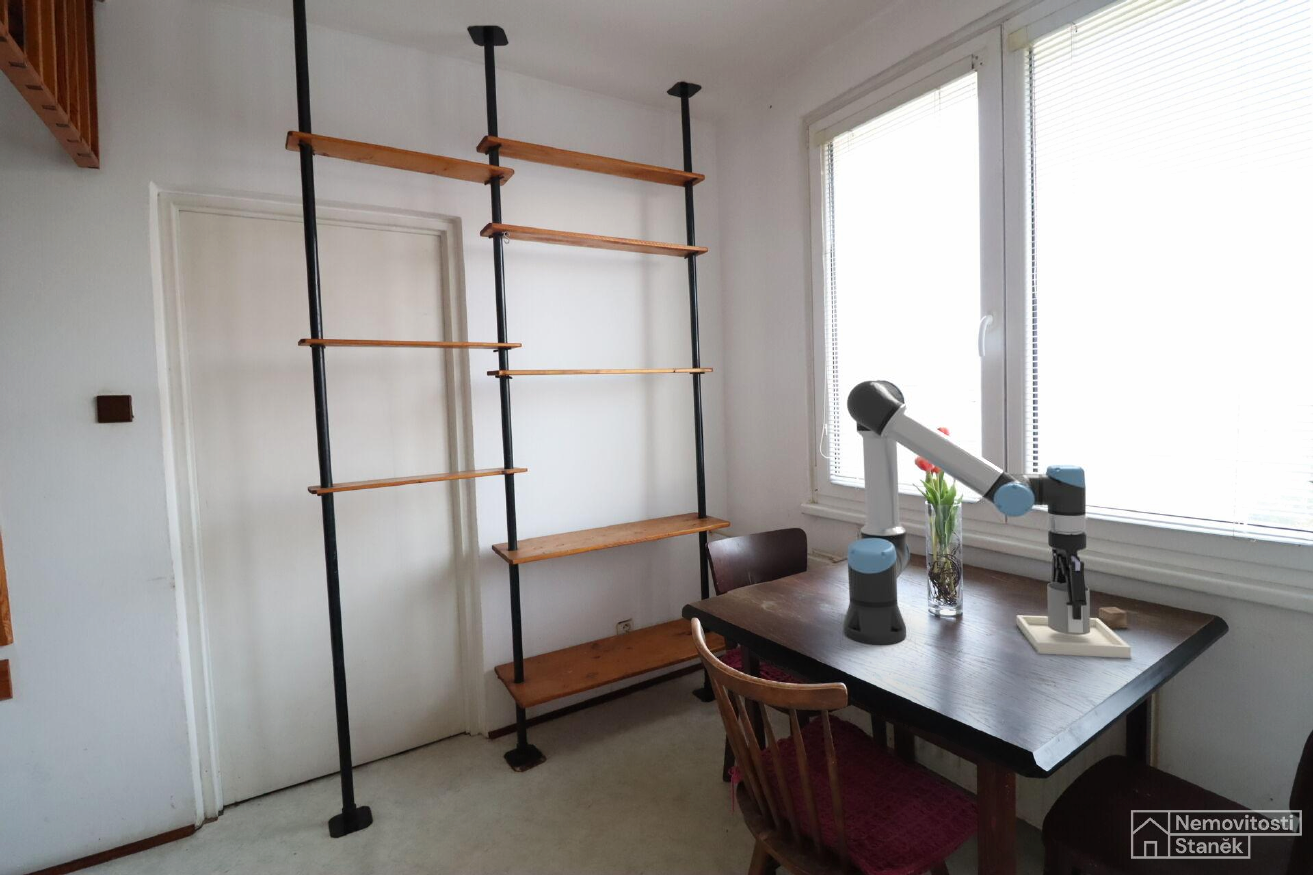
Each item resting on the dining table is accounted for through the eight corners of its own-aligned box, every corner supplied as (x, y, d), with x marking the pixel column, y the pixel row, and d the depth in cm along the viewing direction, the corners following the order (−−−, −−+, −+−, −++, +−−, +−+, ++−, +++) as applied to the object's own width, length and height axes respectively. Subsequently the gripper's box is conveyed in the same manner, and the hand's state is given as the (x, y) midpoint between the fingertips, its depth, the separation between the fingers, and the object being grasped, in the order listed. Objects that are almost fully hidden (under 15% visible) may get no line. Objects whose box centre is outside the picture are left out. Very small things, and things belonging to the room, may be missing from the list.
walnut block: (1110, 628, 153) (1110, 613, 152) (1099, 623, 157) (1098, 607, 156) (1126, 628, 152) (1126, 612, 152) (1115, 622, 156) (1115, 606, 156)
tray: (1038, 653, 141) (1037, 642, 141) (1016, 624, 158) (1016, 615, 158) (1130, 658, 136) (1130, 647, 136) (1098, 628, 153) (1097, 618, 153)
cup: (1097, 635, 142) (1096, 592, 142) (1057, 634, 144) (1056, 592, 143) (1079, 621, 150) (1079, 581, 150) (1042, 621, 152) (1041, 581, 151)
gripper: (1103, 541, 135) (1105, 643, 136) (1069, 521, 155) (1070, 610, 156) (1064, 541, 137) (1066, 641, 138) (1035, 521, 157) (1037, 609, 158)
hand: (1068, 624), depth 147 cm, fingers closed on cup, 8 cm apart
